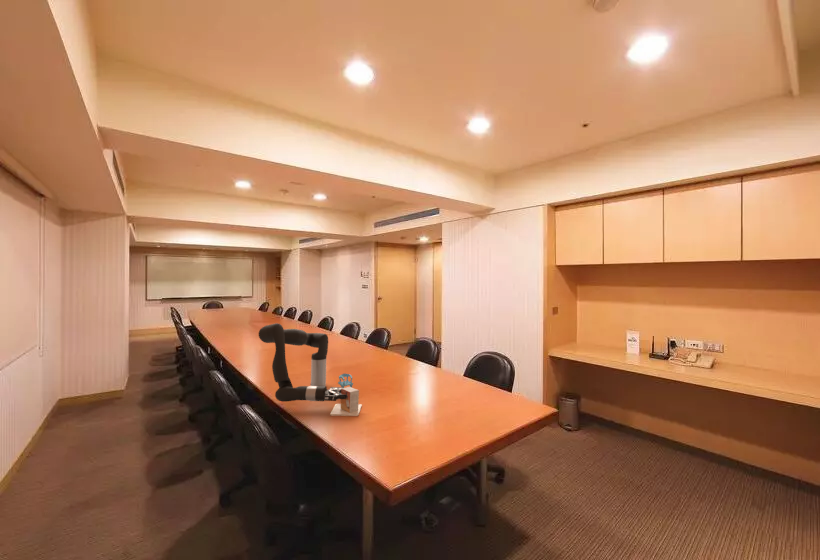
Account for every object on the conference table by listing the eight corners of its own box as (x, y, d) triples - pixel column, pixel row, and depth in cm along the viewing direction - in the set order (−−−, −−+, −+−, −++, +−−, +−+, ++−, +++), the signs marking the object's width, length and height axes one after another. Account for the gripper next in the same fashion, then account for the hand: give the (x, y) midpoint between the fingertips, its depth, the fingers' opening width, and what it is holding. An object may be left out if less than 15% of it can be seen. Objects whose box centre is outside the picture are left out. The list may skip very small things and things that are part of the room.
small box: (340, 408, 175) (340, 388, 175) (349, 406, 179) (349, 386, 179) (349, 413, 170) (350, 392, 170) (358, 410, 174) (359, 389, 174)
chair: (342, 398, 193) (343, 377, 193) (336, 394, 200) (336, 373, 200) (354, 395, 198) (355, 375, 198) (347, 391, 205) (348, 371, 205)
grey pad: (335, 405, 182) (335, 403, 182) (361, 405, 182) (361, 404, 182) (330, 415, 168) (330, 413, 168) (358, 416, 168) (358, 414, 168)
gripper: (312, 390, 168) (345, 391, 168) (320, 382, 182) (350, 382, 182) (312, 405, 168) (345, 406, 168) (319, 396, 182) (349, 396, 182)
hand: (347, 394), depth 175 cm, fingers open, 8 cm apart
